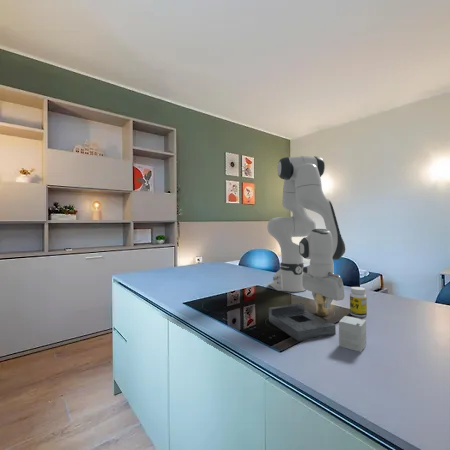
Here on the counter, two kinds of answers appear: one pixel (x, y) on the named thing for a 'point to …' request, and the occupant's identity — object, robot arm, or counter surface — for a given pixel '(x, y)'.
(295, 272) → the robot arm
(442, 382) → the counter surface
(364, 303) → the supplement bottle
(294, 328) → the jig
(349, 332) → the skincare box
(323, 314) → the bushing
